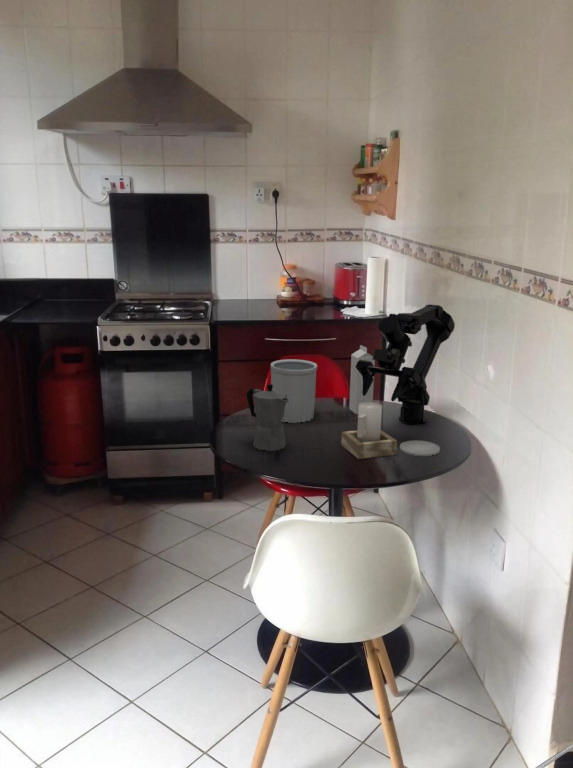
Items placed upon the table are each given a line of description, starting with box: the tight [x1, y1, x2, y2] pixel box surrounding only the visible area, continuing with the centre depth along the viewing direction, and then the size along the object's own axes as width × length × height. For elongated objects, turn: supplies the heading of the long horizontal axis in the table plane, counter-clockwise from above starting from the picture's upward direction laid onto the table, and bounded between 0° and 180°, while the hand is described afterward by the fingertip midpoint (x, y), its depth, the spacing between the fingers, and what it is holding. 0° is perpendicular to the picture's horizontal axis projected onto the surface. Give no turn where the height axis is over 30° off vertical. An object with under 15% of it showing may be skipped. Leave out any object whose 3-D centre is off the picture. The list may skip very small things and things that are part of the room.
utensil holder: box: [270, 358, 318, 424], centre depth 214 cm, size 15×15×18 cm
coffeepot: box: [245, 383, 289, 452], centre depth 188 cm, size 15×9×18 cm, turn 49°
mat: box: [399, 439, 441, 457], centre depth 188 cm, size 11×11×1 cm
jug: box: [356, 401, 383, 442], centre depth 184 cm, size 9×6×13 cm
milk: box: [348, 344, 376, 415], centre depth 221 cm, size 6×6×22 cm
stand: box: [340, 429, 398, 460], centre depth 187 cm, size 11×11×4 cm
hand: (377, 397), depth 191 cm, fingers open, 9 cm apart
